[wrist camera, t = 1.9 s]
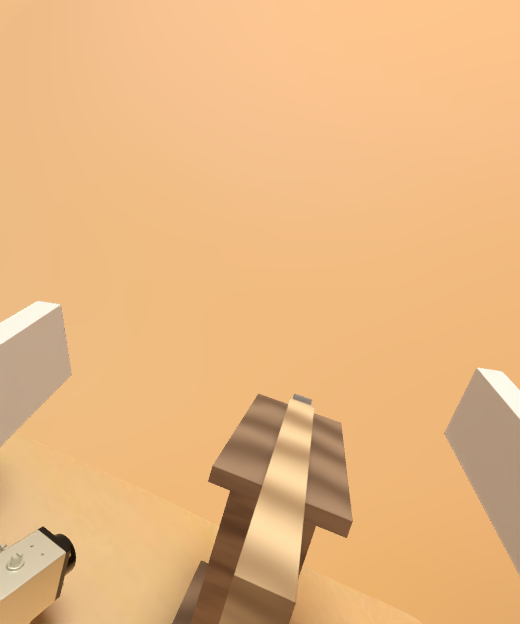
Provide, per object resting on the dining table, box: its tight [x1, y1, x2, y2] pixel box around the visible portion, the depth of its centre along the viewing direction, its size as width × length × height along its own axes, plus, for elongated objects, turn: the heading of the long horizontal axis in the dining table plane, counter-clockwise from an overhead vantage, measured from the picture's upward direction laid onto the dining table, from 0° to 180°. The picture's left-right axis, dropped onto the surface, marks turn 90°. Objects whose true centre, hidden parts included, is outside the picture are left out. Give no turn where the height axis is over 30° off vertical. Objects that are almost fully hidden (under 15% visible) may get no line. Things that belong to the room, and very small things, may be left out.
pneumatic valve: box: [0, 527, 76, 624], centre depth 34 cm, size 6×12×12 cm, turn 157°
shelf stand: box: [172, 394, 353, 624], centre depth 39 cm, size 20×14×28 cm
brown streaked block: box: [219, 394, 314, 624], centre depth 30 cm, size 30×3×3 cm, turn 168°
